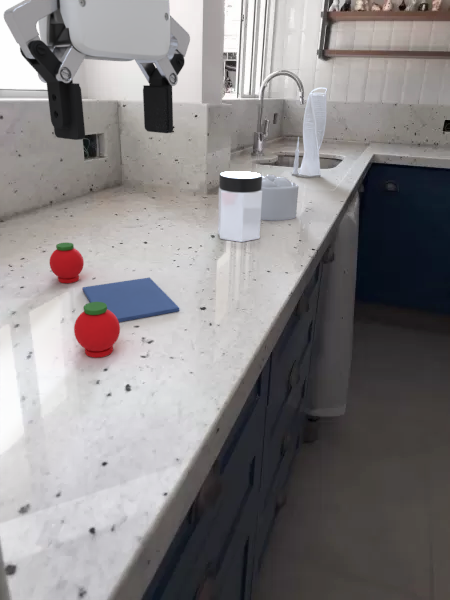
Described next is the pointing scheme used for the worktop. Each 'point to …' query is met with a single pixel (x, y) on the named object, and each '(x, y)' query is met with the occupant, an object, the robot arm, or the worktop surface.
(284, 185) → the lumpy-topped squat cylinder
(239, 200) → the jar
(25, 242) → the worktop surface
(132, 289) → the cloth
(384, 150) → the worktop surface
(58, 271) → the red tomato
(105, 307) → the red round lidded pot
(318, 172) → the skyscraper
